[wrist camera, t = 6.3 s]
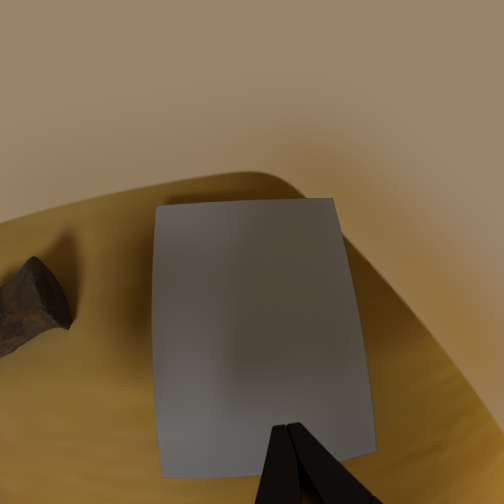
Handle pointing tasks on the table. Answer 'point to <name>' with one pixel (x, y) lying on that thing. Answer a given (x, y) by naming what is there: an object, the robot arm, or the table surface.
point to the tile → (254, 335)
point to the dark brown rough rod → (30, 306)
